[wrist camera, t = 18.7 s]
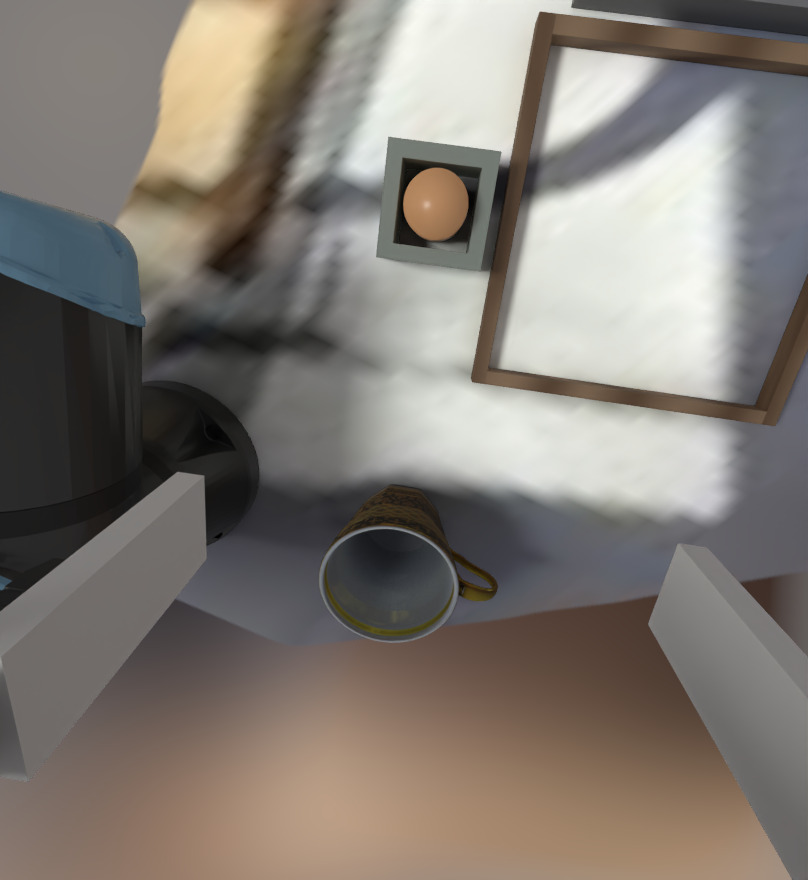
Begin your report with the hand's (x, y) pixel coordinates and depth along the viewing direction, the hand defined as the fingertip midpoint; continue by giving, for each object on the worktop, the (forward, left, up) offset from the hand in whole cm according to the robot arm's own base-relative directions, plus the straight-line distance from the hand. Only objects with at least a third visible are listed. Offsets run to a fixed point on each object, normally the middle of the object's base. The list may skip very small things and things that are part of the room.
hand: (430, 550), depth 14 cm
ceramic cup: (0, -14, -27) cm, 30 cm away
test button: (-2, +11, -25) cm, 28 cm away
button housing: (-2, +11, -27) cm, 29 cm away
